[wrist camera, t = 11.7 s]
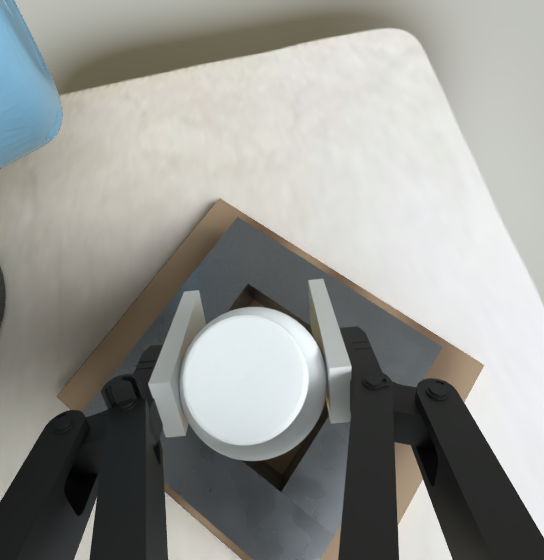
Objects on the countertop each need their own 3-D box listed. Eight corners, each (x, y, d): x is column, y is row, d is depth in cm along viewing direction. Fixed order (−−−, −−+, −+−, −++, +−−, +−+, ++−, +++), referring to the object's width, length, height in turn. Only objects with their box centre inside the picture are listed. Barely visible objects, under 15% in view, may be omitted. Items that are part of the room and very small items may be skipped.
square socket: (115, 408, 24) (82, 411, 20) (244, 241, 27) (237, 216, 23) (296, 561, 21) (297, 598, 17) (418, 354, 24) (442, 347, 20)
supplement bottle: (256, 317, 22) (229, 257, 12) (333, 372, 21) (371, 355, 11) (198, 395, 21) (118, 396, 11) (276, 458, 20) (263, 522, 10)
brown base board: (65, 396, 25) (56, 396, 24) (221, 204, 29) (219, 198, 28) (333, 629, 21) (335, 641, 20) (476, 366, 25) (484, 365, 24)
